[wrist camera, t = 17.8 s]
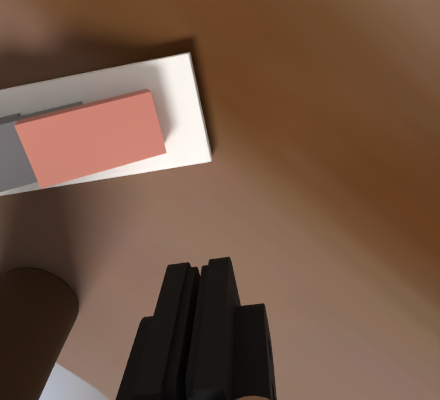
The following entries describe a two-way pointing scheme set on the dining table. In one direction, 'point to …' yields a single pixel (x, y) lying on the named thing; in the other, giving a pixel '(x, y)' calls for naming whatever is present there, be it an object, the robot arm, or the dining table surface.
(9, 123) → the domino
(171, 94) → the board
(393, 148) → the dining table surface
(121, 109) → the red domino
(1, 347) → the olive oil
